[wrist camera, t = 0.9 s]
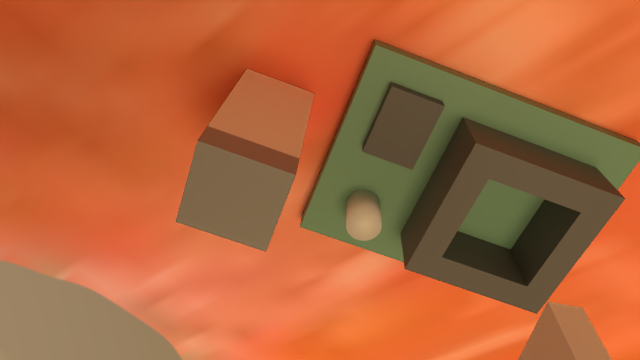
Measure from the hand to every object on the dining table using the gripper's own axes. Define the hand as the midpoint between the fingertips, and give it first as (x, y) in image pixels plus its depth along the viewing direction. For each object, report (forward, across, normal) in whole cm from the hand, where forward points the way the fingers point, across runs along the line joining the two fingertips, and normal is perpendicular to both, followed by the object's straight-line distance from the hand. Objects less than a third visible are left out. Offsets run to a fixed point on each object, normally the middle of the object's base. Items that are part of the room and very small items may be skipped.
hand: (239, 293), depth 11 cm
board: (+19, +10, -5) cm, 22 cm away
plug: (+19, -2, -3) cm, 19 cm away
